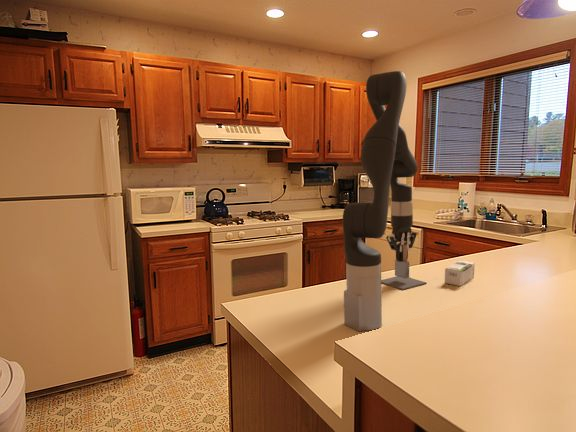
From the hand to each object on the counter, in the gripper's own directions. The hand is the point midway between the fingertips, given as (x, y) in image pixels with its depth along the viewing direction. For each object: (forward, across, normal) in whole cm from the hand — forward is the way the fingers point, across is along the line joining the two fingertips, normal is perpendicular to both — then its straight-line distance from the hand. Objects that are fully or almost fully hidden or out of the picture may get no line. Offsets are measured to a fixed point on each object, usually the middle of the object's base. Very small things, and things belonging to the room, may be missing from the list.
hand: (401, 260), depth 136 cm
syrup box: (+6, +12, -12) cm, 18 cm away
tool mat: (+8, 0, 0) cm, 8 cm away
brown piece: (+6, 0, 0) cm, 6 cm away
